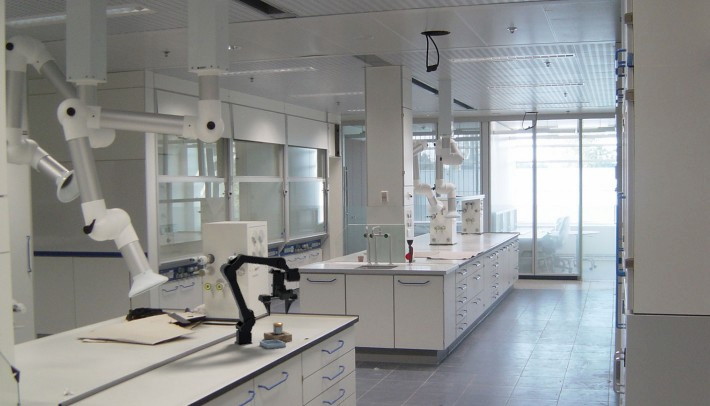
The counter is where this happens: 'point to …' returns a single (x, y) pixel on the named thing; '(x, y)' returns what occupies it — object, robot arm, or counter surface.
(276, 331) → the pin
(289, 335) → the brown square frame
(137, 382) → the counter surface
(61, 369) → the counter surface
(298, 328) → the counter surface
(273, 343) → the tray
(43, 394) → the counter surface
